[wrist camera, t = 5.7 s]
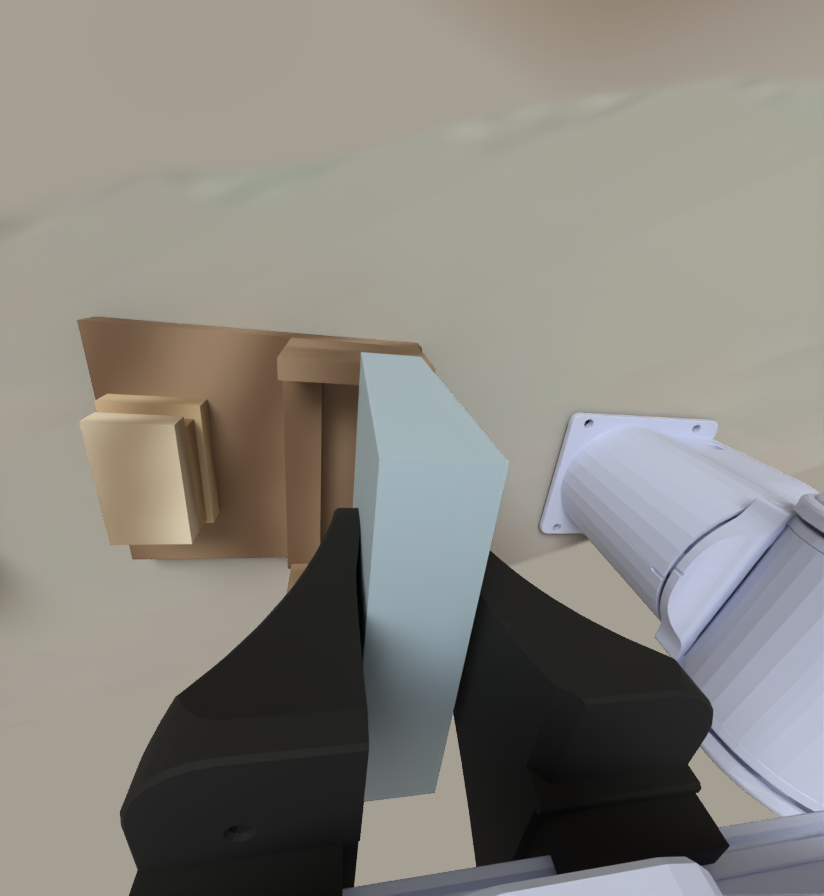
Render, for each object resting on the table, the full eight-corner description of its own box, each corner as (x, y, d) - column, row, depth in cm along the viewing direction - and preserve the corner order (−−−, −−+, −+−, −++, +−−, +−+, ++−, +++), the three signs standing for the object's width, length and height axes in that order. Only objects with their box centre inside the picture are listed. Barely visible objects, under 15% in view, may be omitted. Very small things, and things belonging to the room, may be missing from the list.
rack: (417, 343, 19) (440, 369, 15) (395, 542, 24) (407, 609, 20) (94, 316, 17) (-3, 337, 12) (143, 544, 22) (87, 621, 17)
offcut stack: (207, 398, 18) (182, 423, 15) (219, 511, 20) (200, 549, 18) (107, 393, 17) (62, 418, 14) (132, 510, 19) (98, 550, 17)
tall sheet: (420, 356, 13) (509, 463, 6) (396, 568, 17) (434, 792, 10) (360, 352, 13) (379, 459, 6) (349, 569, 16) (352, 803, 9)
